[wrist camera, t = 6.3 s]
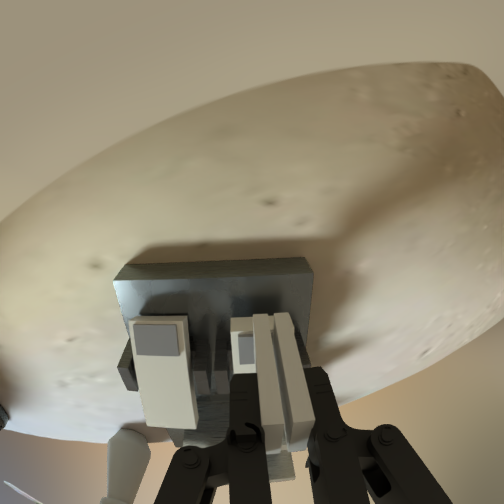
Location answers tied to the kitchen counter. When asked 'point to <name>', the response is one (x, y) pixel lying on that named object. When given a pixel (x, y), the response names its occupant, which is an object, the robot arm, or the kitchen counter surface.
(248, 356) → the rocker
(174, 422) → the rocker
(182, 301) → the grey mechanical fixture
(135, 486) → the salt shaker
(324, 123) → the kitchen counter surface
